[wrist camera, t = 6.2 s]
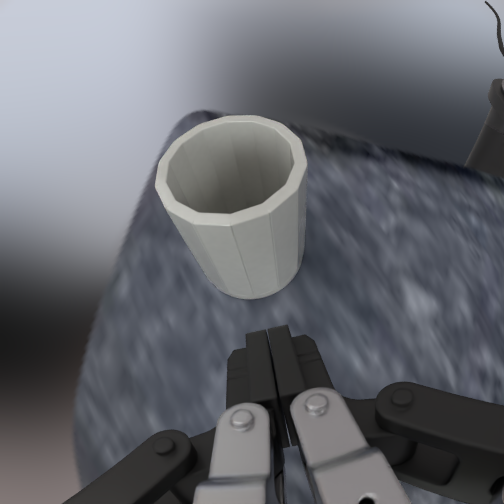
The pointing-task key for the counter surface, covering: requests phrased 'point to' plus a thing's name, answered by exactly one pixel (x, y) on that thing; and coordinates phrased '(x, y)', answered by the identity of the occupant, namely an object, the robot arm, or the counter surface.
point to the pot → (239, 201)
